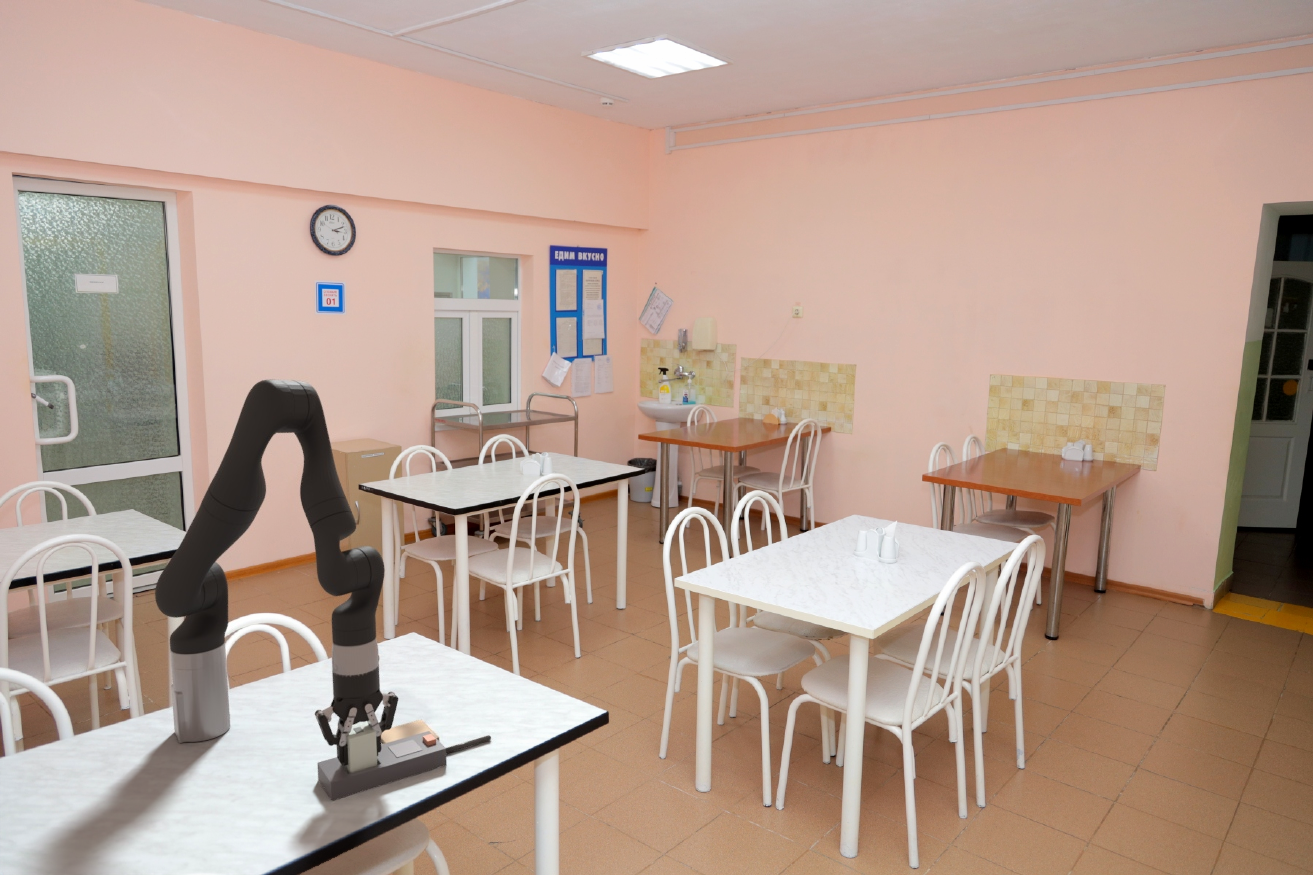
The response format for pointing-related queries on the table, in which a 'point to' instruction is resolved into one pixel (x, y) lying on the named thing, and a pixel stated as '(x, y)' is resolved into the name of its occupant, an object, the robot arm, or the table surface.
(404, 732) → the cork mat
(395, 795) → the table surface
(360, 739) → the block
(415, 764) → the power strip
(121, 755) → the table surface
